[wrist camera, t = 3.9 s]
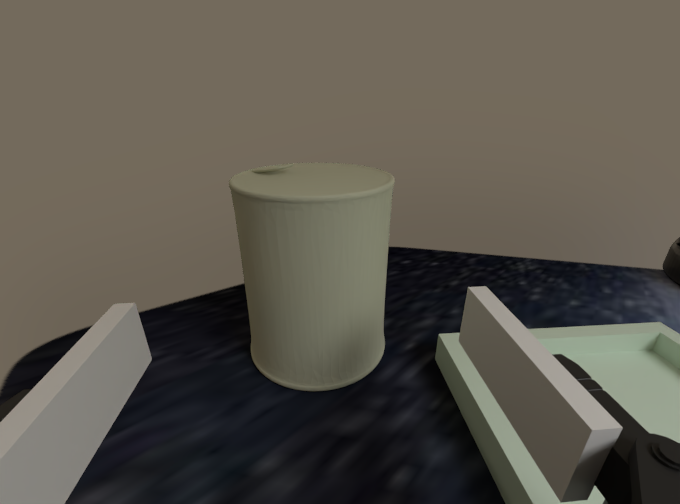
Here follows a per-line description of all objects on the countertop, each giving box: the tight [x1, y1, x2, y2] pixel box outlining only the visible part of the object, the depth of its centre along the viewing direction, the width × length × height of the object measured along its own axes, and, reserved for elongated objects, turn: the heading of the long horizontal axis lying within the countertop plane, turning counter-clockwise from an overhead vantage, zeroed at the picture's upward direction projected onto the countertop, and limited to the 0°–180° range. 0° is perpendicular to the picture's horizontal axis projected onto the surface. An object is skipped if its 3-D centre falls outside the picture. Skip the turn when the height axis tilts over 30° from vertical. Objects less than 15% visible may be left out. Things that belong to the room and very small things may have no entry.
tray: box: [435, 322, 680, 504], centre depth 15 cm, size 15×15×2 cm
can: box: [229, 163, 395, 391], centre depth 21 cm, size 9×9×12 cm
